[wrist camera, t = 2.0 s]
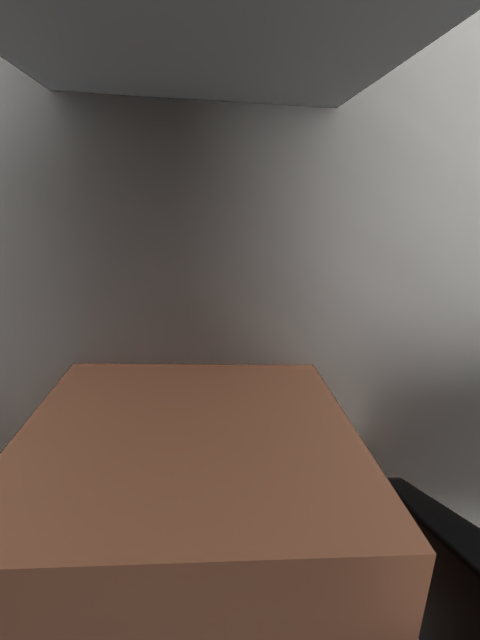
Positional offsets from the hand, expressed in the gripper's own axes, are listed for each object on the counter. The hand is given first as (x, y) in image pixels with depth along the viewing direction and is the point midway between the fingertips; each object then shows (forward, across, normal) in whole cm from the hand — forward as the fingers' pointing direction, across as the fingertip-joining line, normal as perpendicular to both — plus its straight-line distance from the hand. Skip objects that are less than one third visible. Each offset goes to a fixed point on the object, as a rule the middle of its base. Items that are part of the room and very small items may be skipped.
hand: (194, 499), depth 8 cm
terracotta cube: (+1, 0, 0) cm, 1 cm away
